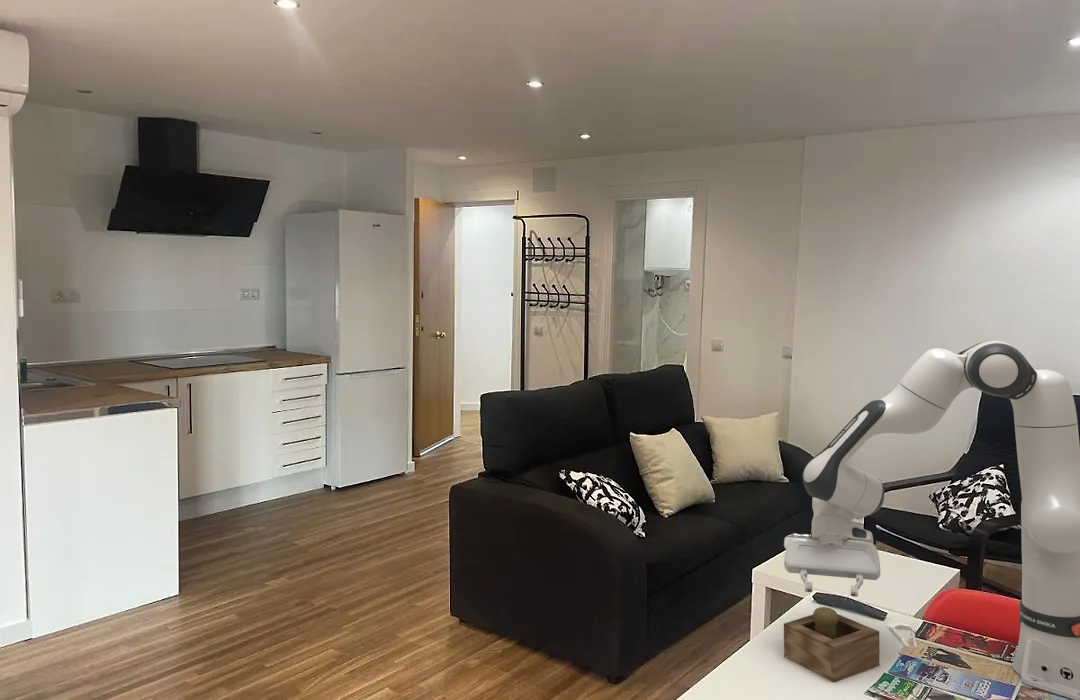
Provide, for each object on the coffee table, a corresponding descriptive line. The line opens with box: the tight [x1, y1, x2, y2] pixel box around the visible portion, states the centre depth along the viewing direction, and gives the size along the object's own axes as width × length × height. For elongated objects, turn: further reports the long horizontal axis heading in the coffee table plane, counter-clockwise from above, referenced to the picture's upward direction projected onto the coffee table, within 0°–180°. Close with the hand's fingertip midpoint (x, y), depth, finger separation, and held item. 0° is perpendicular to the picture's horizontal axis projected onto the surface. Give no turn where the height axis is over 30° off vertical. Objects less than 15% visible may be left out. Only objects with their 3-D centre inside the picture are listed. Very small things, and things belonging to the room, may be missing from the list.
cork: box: [812, 606, 838, 640], centre depth 174 cm, size 6×6×11 cm
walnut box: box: [783, 613, 881, 683], centre depth 175 cm, size 14×14×8 cm
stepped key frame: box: [886, 621, 918, 650], centre depth 186 cm, size 13×5×2 cm, turn 177°
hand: (831, 593), depth 174 cm, fingers open, 8 cm apart
